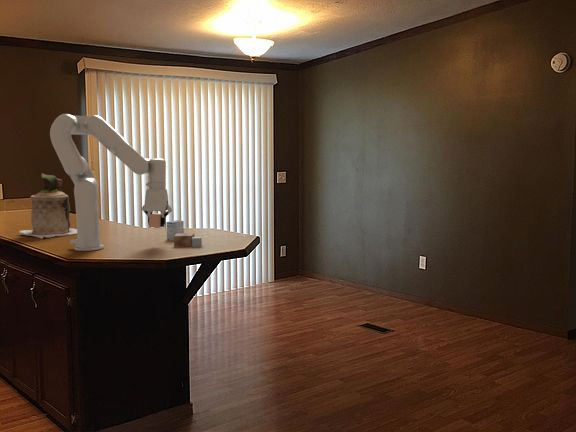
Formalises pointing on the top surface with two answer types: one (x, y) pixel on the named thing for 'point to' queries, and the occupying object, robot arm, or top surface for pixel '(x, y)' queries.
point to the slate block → (196, 241)
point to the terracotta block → (155, 220)
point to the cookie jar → (50, 211)
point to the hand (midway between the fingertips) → (156, 225)
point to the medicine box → (174, 228)
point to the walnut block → (183, 239)
